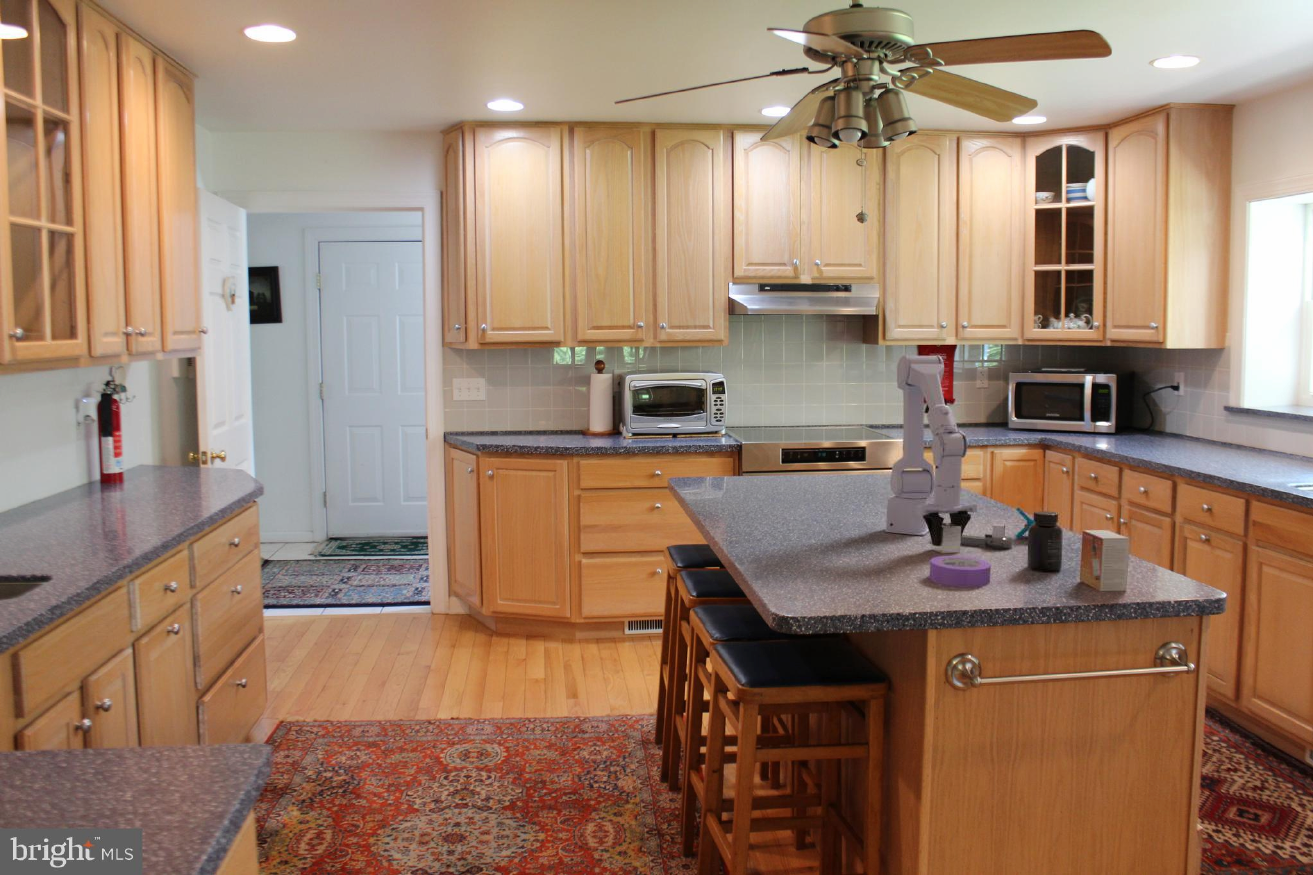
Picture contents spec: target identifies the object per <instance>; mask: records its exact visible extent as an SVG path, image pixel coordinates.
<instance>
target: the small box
mask: <svg viewBox="0 0 1313 875" xmlns="http://www.w3.org/2000/svg"><path fill="white" fill-rule="evenodd" d="M1081 535H1082V537H1081V550H1080V551H1081V554H1080V567H1079V568H1080V569H1079V570H1080V571H1079V581H1080V582H1081V583H1084V584H1086V585H1088V586H1090V587H1092V588H1094V589H1095V590H1097V591H1099V592H1125V591H1127V587H1128V573H1129V559H1130V557H1129V556H1130V544H1131V543H1130V542H1131V541H1130V540H1131V538H1130V537H1127V536H1123V535H1121V534H1118V533H1116V532H1113V531H1111V530H1109V529H1101V530H1100V529H1099V530H1097V529H1096V530H1095V529H1093V530H1091V529H1087V530H1086V529H1085V530H1084V529H1083V530H1082V534H1081Z"/></svg>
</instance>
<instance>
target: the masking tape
mask: <svg viewBox="0 0 1313 875" xmlns="http://www.w3.org/2000/svg"><path fill="white" fill-rule="evenodd" d="M929 564H930V565H929V579H930V580H931V581H932V580H933V582H934V581H935V582H934V583H937V584H940V583H941V585H944V586H950V585H952V586H951V587H959V586H964V587H963V588H974V587H975V586H978V587H984V586H987V585H989V584H990V583H991V569H992V568H991V567H992V565H991V563H990V562H989V561H986V560H984V559H982V558H981V559H980V558H976V557H971V556H965V555H964V556H963V555H942V556H935V557H932V558H931V559H930V562H929ZM965 586H966V587H965ZM975 588H976V587H975Z"/></svg>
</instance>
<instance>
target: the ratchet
mask: <svg viewBox="0 0 1313 875" xmlns="http://www.w3.org/2000/svg"><path fill="white" fill-rule="evenodd" d="M962 545H963V546H972V547H983V548H986V549H990V550H1000V551H1001V550H1002V551H1003V550H1004V551H1007V550H1011V549H1013V537H1011V536H1007V535H1006V524H1003V523H993V525H992V534H991V533H990V534H988V533H987V534H986V533H985V534H984V536H979V535H968V534H962V537H961V541H960V546H962Z"/></svg>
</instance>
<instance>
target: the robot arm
mask: <svg viewBox="0 0 1313 875" xmlns="http://www.w3.org/2000/svg"><path fill="white" fill-rule="evenodd" d="M944 372H945V364H944V360H943V358H942V357H941V356H940V355H938V354H936V355H907V354H903V355H901V357H900V358H899V359H898V362H897V364H896V383H897V388H898V389H899V390H901V391H902V395H903V396H902V398H903V399H902V400H903V401H902V402H903V404H902V405H903V406H902V407H903V418H902V420H903V424H902V425H903V430H902V431H903V432H902V433H903V434H902V435H903V436H902V437H903V440H902V441H903V447H902V448H903V450H902V451H903V455H902V457H901V458H900V459H898V460H897V461H896V462H894V464H892V467H891V474H890V479H889V484H890V490H891V493H893V495H890V496H888V498H887V499H888V500H887V503H886V526H885V527H886V529H885V532H886V533H892V534H893V533H894V534H902V535H903V534H905V535H914V536H915V535H917V536H925V535H926V534H928V533H929V536H930V539H931V540H930V542H931V541H932V545H935V546H940V540H941V528H942V524H943V522H944V521H945V518H944V517H942V516H941V515H940V514H943V515H944V514H949V518H950V523H953V524H956V525H959V526H961V537H962V535H964V534H963V533H964V531H965V528H966V526H967V525H968V523H969V521H970V520H972V514H971V513H977V510H978V508H977V507H978V504H977V503H974V502H961V495H962V494H961V493H962V492H961V489H962V471H963V470H962V466H963V464H962V463H963V458H964V457H966V455H967V452H968V440H967V436H966V434H965V433H964V432H962V430H961V429H960V428H958V426H957V422H956V419H955V417H954V413H953V411H952V410H953V409H952V408H951V407H950V406H948V405H946V403H945V397H944V393H943V388H942V385H941V384H942V380H943V377H944ZM924 401H925V402H926V405H927V406H928V408H929V411H928V412H927V414H926V418H927V422H928V425H929V428H930V431H931V435H932V442H931V452H932V457H933V458H932V460H933V461H932V462H933V463H931V462H930V461H929V460H927V459H926V458H925V457H924V456H925V454H924V453H925V452H924V451H925V450H924V448H925V447H924V446H925V445H924V443H925V439H924V436H925V430H924V429H925V426H924V424H925V422H924V421H925V420H924V419H925V416H924V415H925V414H924V412H925V410H924V408H925V406H924V405H925V404H924ZM934 466H935V467H934ZM934 468H935V469H934ZM911 469H913V470H911ZM914 469H915V470H914ZM932 494H934V495H933V503H929V504H928V498H931V495H932Z"/></svg>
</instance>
